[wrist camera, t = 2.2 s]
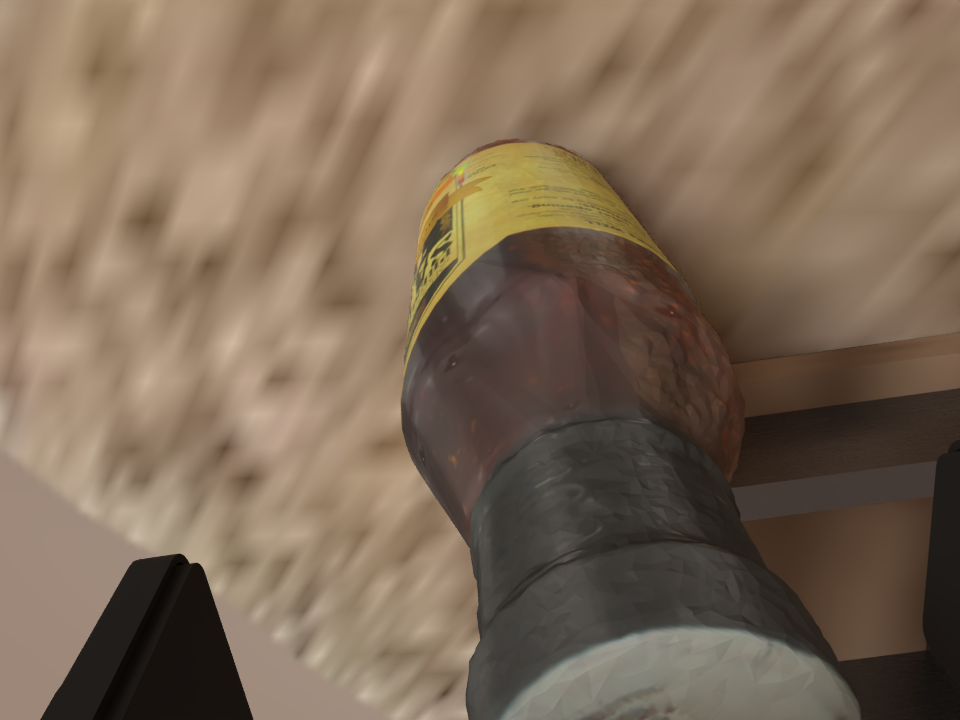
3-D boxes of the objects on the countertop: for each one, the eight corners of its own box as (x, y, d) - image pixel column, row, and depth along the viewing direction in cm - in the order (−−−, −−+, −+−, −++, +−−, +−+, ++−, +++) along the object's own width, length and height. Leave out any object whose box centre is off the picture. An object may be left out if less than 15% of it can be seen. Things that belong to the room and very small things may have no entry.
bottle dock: (1032, 322, 28) (1160, 390, 23) (987, 660, 34) (1081, 774, 29) (566, 387, 28) (590, 468, 23) (601, 708, 34) (627, 829, 29)
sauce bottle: (404, 149, 25) (262, 513, 7) (607, 118, 25) (1030, 406, 7) (439, 344, 28) (405, 995, 9) (623, 318, 27) (960, 930, 9)
